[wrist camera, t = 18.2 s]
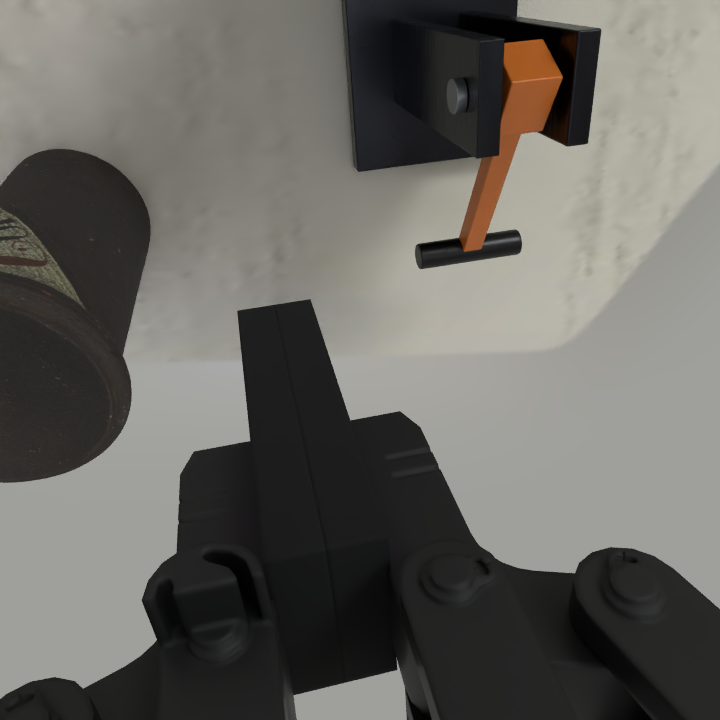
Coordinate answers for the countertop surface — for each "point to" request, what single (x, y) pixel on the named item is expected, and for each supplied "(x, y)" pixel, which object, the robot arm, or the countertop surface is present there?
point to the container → (65, 310)
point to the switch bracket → (451, 78)
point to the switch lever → (501, 156)
